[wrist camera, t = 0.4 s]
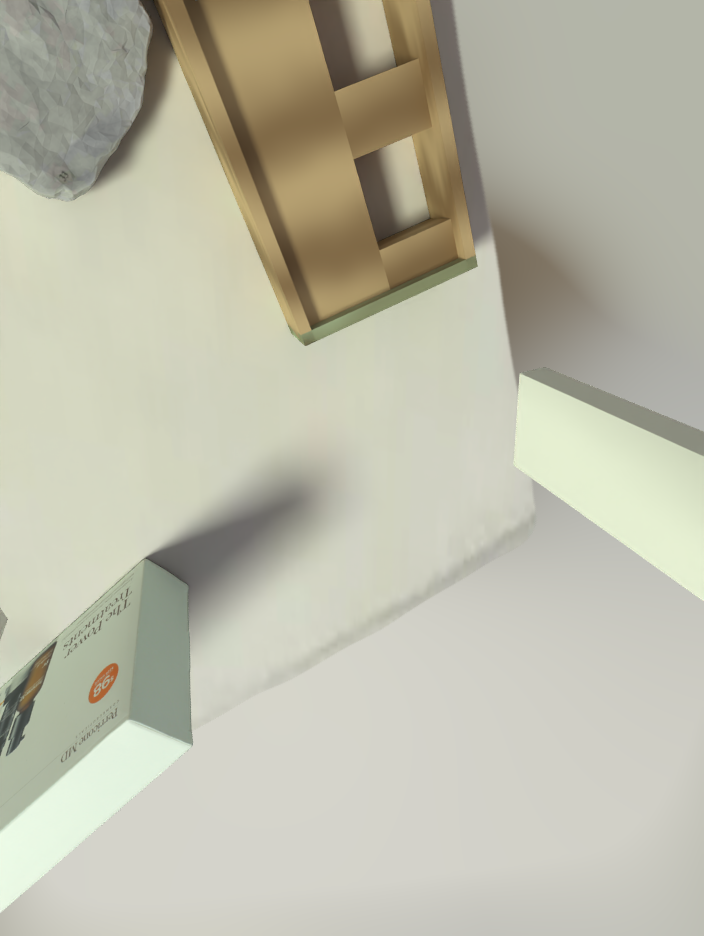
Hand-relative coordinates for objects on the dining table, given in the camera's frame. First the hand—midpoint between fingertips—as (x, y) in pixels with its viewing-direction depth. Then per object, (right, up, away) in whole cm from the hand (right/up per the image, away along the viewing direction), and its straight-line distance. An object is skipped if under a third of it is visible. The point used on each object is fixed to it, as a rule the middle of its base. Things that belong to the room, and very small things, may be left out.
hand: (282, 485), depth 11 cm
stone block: (-15, +22, +15) cm, 30 cm away
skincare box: (-22, -15, +31) cm, 41 cm away
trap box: (-1, +23, +19) cm, 30 cm away
